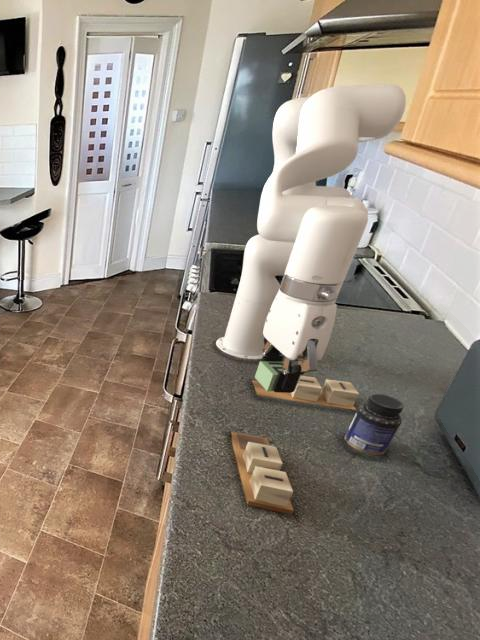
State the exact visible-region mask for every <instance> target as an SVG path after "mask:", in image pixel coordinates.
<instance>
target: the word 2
mask: <svg viewBox="0 0 480 640" xmlns="http://www.w3.org/2000/svg"><path fill="white" fill-rule="evenodd" d="M251 381H252V384H253V387H254V389H255V393H256V395H257V396H261V397H268V398H274V399H280V400H287V401H295V402H300V403H308V404H314V405H321V406H327V407H334V408H340V409H346V410H353V411H357V408H356V407H355V403H356V401H357V398H358V397H359V395H360V393H359V391H358V390H357V388H356V387H355V386H354V385H353V383H352V382H350V381H343V380H335V379H330V378H329V379H328V378H326V379H325V382H324V383H323V386H321V384H320V382H319V381H318V379H317V378H316V377H314V376H308V375H307V376H306V375H301V376H300V379H299V381H298V384H297V386H296V389H295V391H294V392H292V393H282V392H274V391H266V389H265V388H264V387H263V386H262V385H261V384H260V383H259V382H258V381H257V380H256V379H255V380H254V379H252V380H251Z"/></svg>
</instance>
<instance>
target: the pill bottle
mask: <svg viewBox="0 0 480 640" xmlns="http://www.w3.org/2000/svg"><path fill="white" fill-rule="evenodd" d="M404 407H405V405H404V403H403V402H402V401H401V400H399V399H397V398H395V397H394V396H391V395H388V394H387V395H386V394H382V393H373V394H371V395H369V397H368V399H367V401H366V403H364V404H362V405H360V406H359V407H358V408H357V409H356V412H355V414H354V417H353V419H352V420H351V422H350V425H349V426H348V429H347V431H346V433H345V435H344V440H345V443H346V444H348V445H349V446H350V447H351V448H353V449H354V450H357V451H359V452H362V453H364V454H368V455H373V456H381V455H383V454H385V453H386V452H387V450H388V448H389V446H390V445H391V443H392V441H393V439H394V437H395V435H396V433H397V431H398V430H399V428H400V426H401V425H402V422H403V420H402V417H401V415H400V414H401V413H402V412H403V410H404Z"/></svg>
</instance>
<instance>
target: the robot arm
mask: <svg viewBox="0 0 480 640" xmlns="http://www.w3.org/2000/svg"><path fill="white" fill-rule="evenodd" d="M405 110H406V94H405V91H404V90H403V88H402V87H401V86H399V85H397V84H392V83H380V84H379V83H378V84H377V83H376V84H354V85H353V84H352V85H337V86H331V87H325V88H323V89H321V90H319V91H317V92H315V93H313V94H312V95H311V96H304V97H298V98H293V99H289V100H287V101H285V102H284V103H283V104H281V105H280V107H278V109H277V111H276V113H275V116H274V118H273V119H274V120H273V124H272V133H271V134H272V138H271V139H272V148H273V156H274V159H273V160H274V164H273V169H272V173H271V175H270V176H269V177H268V178H267V181H266V182H265V183H264V186H263V188H262V191H261V195H260V199H259V207H258V213H257V220H256V221H257V222H256V229H257V232H258V234H255V235H254V236H252V237H251V238H249V240H248V241H247V242H246V245H245V247H244V252H243V260H242V268H241V269H242V270H241V276H240V281H239V284H238V288H237V291H236V295H235V298H234V302H233V305H232V309H231V312H230V316H229V319H228V323H227V325H226V326H227V327H226V330H225V333H224V336H222V337H219V338H218V339H217V340H216V342H215V345H216V347H217V348H218V349H219V350H220V351H222V352H224V353H225V354H228V355H229V356H232V357H236V358H240V359H244V360H256V361H257V360H260V361H271V362H284V364H283V369H282V371H279V372H278V375H277V378H276V381H275V383H274V386H273V389H272V390H273V391H274V392H282V393H292V392H293V391H294V389H295V387H296V384H297V381H298V379H299V376H300V375H301V376H304V375H305V374H307V373H311V372H312V373H313V372H317V371H318V361H319V362H320V361H321V360H323V357H324V356H325V352H326V351H327V347H328V345H329V342H330V340H331V336H332V333H333V329H334V325H335V321H336V316H337V308H338V304H336V302H337V300H338V296H339V294H340V292H341V289H342V287H343V284H344V282H345V280H346V277H347V275H348V272H349V270H350V268H351V265H352V263H353V260H354V258H355V256H356V255H355V254H356V252H357V250H358V248H359V245H360V243H361V240H362V238H363V235H364V232H365V230H366V228H367V225H368V222H369V211H368V209H366V205H365V203H364V202H363V201H362V200H360V199H357V198H354V197H352V195H351V193H350V191H349V190H348V189H347V188H344V187H341V186H327V185H317V182H318V181H321V180H324V179H327V178H330V177H333V176H335V175H338V174H339V173H341V172H343V171H345V170H347V169H348V168H349V167H350V166H351V165H352V164H353V162H354V161H355V160H356V158H357V156H358V152H359V143H365V142H370V141H375V140H380V139H383V138H385V137H387V136H388V135H390V134H391V133H392V132H393V131H394V130H395V129H396V128H397V127H398V126H399V124H400V122H401V120H402V119H403V116H404V113H405ZM276 276H281V277H282V280H281V282H279V281H278V279H277V277H276ZM283 356H284V357H283ZM293 361H294V362H297V364H293Z"/></svg>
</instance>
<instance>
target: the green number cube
mask: <svg viewBox="0 0 480 640" xmlns="http://www.w3.org/2000/svg"><path fill="white" fill-rule="evenodd" d="M283 364H284V361H282V362H271V361H261V360H260V361H259V363H258V366H257V369H256V372H255V374H254V379H255V380H256V381H258V382H259V383H260V384H261V385H262V386H263V387H264V388H265V389H266V391H273V390H272V389H273V386H274V383H275V381H276V378H277V375H278V372H279V371H282V369H283ZM300 376H302V375H300ZM300 376H299V379H300ZM299 379H298V381H299ZM298 381H297V384H298ZM297 384H296V386H297ZM295 389H296V387H295ZM295 389H294V391H295ZM294 391H293V392H294Z"/></svg>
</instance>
